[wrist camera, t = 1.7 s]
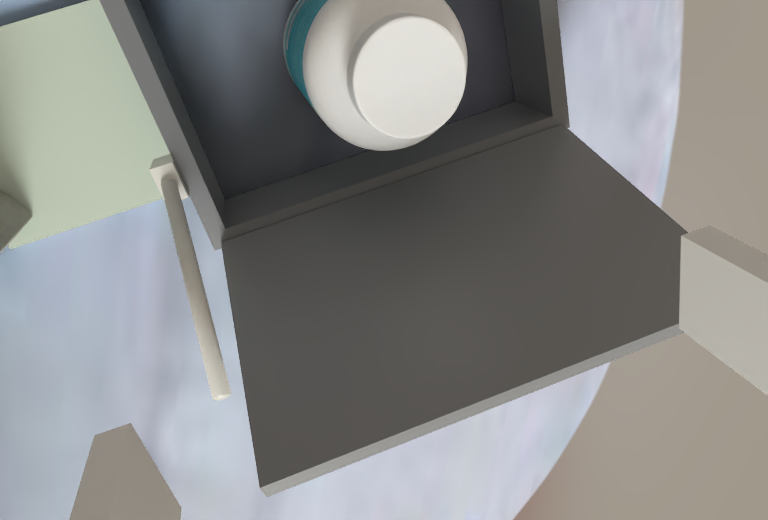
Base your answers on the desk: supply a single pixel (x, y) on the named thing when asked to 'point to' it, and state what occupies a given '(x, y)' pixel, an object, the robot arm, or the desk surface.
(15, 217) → the geiger counter
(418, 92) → the pill bottle
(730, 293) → the robot arm
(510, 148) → the case
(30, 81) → the mat
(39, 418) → the desk surface
